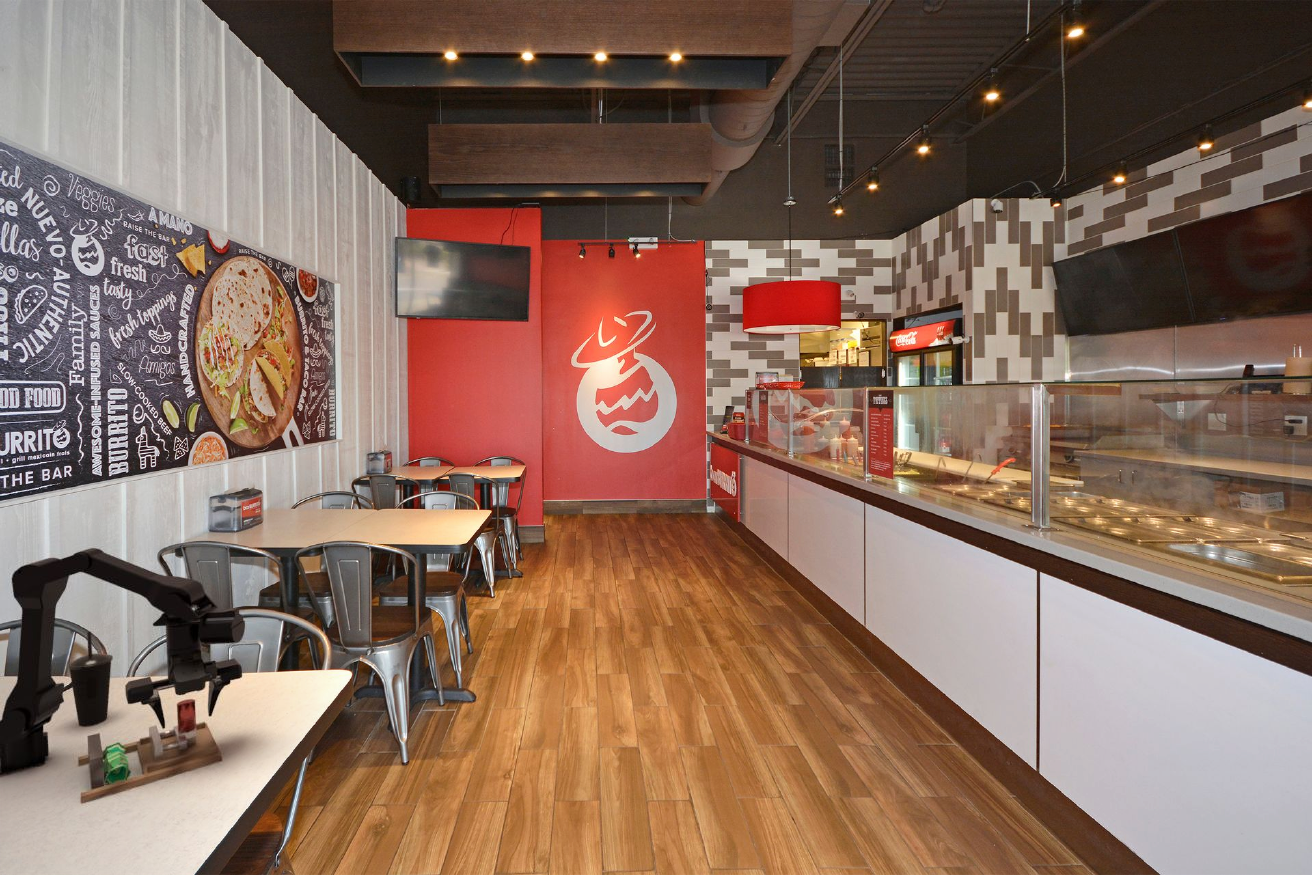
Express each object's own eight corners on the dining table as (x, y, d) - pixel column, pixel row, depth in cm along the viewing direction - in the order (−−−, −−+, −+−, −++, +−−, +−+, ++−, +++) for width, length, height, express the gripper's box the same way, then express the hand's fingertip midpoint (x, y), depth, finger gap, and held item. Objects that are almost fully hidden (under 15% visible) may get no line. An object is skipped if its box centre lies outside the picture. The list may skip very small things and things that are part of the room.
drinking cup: (124, 714, 153) (120, 626, 152) (93, 730, 145) (88, 638, 144) (93, 712, 153) (89, 625, 152) (60, 728, 146) (56, 637, 145)
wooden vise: (81, 803, 118) (79, 769, 118) (78, 763, 132) (76, 732, 131) (222, 760, 132) (221, 730, 132) (206, 728, 146) (205, 700, 145)
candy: (135, 775, 126) (119, 761, 124) (116, 791, 124) (99, 777, 122) (130, 751, 135) (114, 738, 133) (112, 766, 133) (96, 753, 131)
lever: (155, 763, 128) (153, 719, 128) (149, 744, 136) (147, 702, 135) (200, 750, 133) (199, 708, 133) (192, 732, 141) (191, 692, 140)
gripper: (128, 669, 123) (132, 753, 123) (246, 644, 135) (249, 720, 136) (123, 652, 131) (127, 731, 132) (235, 630, 143) (237, 702, 144)
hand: (187, 721), depth 136 cm, fingers open, 7 cm apart
